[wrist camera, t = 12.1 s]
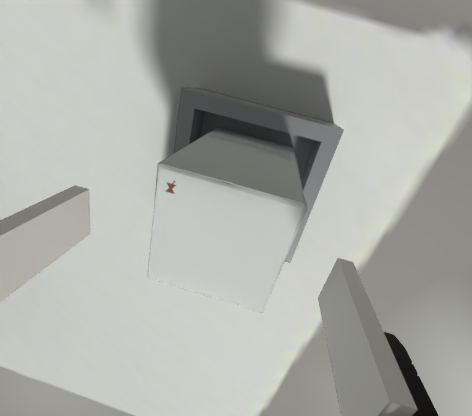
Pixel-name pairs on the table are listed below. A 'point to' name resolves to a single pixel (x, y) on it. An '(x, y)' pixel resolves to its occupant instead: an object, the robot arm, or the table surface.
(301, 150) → the box
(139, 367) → the table surface
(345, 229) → the table surface
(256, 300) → the supplement box
